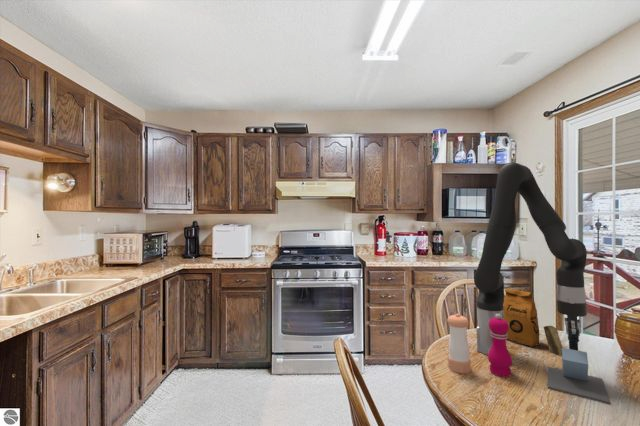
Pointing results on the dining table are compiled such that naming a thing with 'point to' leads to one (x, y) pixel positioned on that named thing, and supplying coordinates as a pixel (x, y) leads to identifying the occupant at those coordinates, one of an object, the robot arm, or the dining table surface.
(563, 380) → the mat
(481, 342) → the robot arm
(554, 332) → the rock
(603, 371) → the dining table surface
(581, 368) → the block
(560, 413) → the dining table surface
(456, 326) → the pepper shaker
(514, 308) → the coffee package
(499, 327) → the pepper mill
